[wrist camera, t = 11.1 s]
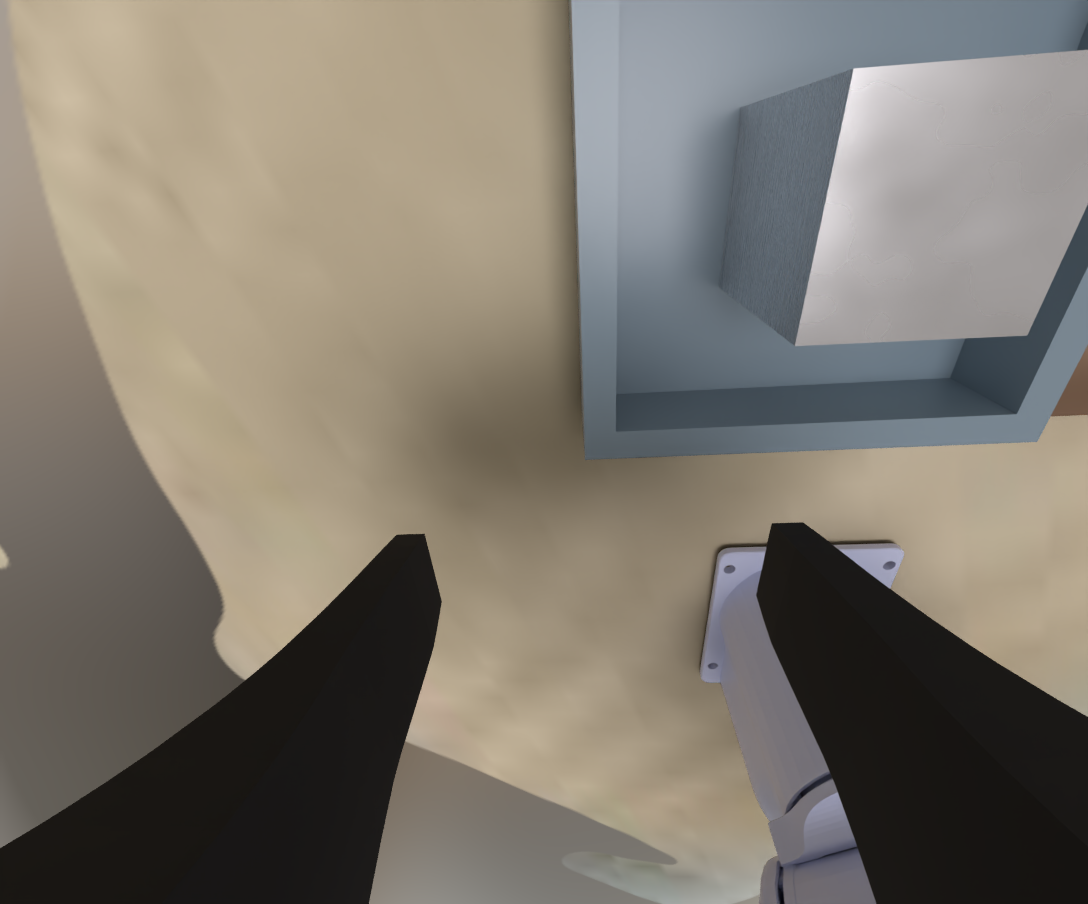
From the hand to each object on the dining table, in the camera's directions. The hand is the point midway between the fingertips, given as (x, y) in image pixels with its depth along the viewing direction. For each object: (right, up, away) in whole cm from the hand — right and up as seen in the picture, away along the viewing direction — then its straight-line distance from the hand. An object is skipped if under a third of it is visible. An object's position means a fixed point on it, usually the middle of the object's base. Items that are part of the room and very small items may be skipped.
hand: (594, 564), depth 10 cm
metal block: (+7, +10, +4) cm, 13 cm away
